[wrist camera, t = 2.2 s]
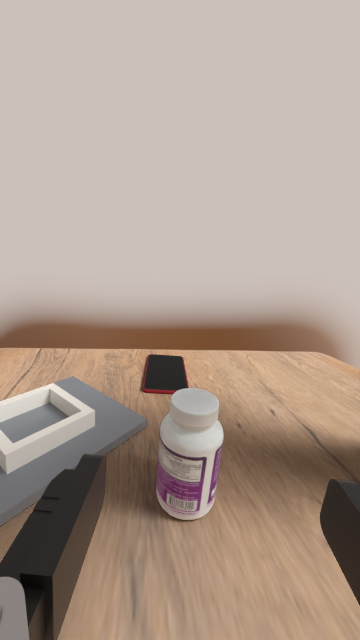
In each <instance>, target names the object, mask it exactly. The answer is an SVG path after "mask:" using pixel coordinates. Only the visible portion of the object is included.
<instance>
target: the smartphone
mask: <svg viewBox="0 0 360 640" xmlns="http://www.w3.org/2000/svg"><path fill="white" fill-rule="evenodd" d="M185 388H189V386H188V381H187V376H186V370H185V365H184V360H183V357H181V356H169V355H153V354H151V355H148V359H147V365H146V371H145V377H144V382H143V391H144V392H146V393H161V394H174V393H175V392H176V391H178V390H180V389H185Z"/></svg>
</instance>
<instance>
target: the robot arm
mask: <svg viewBox="0 0 360 640" xmlns="http://www.w3.org/2000/svg"><path fill="white" fill-rule="evenodd" d="M105 474H106V456H105V455H95V454H83V456H82V457H81V459H80V461H79V463H78V465H77V467H76V469H75V470H72V469H64V470H63V471H62V472H61V473H59V474H58V475H57V476H56V477H55V478H54V479H52V480H51V482H50V483H49V485H48V486H47V488H46V490H45V491H44V493H43V495H42V496H41V499H39V501H38V503H37V504H36V506H35V508H34V509H33V512H32V513H31V514H30V516H29V517H28V519H27V521H26V522H25V524H24V525H23V527H22V529H21V530H20V532H19V534H18V535H17V537H16V539H15V540H14V542H13V543H12V545H11V547H10V548H9V550H8V552H7V553H6V555H5V556H4V558H3V560H2V561H1V563H0V640H57V638H58V635H59V633H60V630H61V627H62V624H63V621H64V618H65V615H66V612H67V609H68V606H69V603H70V600H71V597H72V594H73V591H74V588H75V585H76V583H77V580H78V577H79V574H80V571H81V568H82V565H83V562H84V559H85V556H86V553H87V550H88V547H89V544H90V541H91V538H92V535H93V532H94V530H95V527H96V524H97V521H98V518H99V515H100V512H101V508H102V504H103V500H104V493H105ZM320 523H321V528H322V531H323V534H324V536H325V538H326V540H327V542H328V544H329V546H330V548H331V550H332V552H333V554H334V556H335V558H336V560H337V562H338V564H339V566H340V568H341V570H342V572H343V574H344V576H345V578H346V579H347V581H348V583H349V585H350V587H351V589H352V591H353V593H354V595H355V597H356V599H357V601H358V603H359V605H360V485H359V484H358V483H356V482H354V481H346V480H336V479H332V480H330V481H329V483H328V487H327V490H326V494H325V498H324V501H323V505H322V508H321V512H320Z"/></svg>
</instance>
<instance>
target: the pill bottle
mask: <svg viewBox="0 0 360 640" xmlns="http://www.w3.org/2000/svg"><path fill="white" fill-rule="evenodd" d="M169 412H170V413H169V414H167V415H166V417H165V418H164V419H163V421H162V424H161V428H160V439H159V453H158V465H157V482H156V494H157V499H158V501H159V503H160V505H161V507H162V508H163V509H164V510H165V511H166V512H167V513H168V514H169V515H171V516H173V517H175V518H178V519H181V520H194V519H199V518H201V517H203V516H204V515H206V514H207V513H208V512H209V511H210V509H211V508H212V506H213V503H214V500H215V494H216V487H217V481H218V474H219V467H220V460H221V453H222V445H223V439H224V435H223V429H222V426H221V424H220V422H219V421H218V413H219V401H218V399H217V398H216V397H215V396H214V395H213V394H212V393H210V392H208V391H205V390H202V389H197V388H185V389H180V390H178V391H176V392H175V393H174V394H173V395H172V397H171V402H170V408H169Z"/></svg>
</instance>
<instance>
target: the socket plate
mask: <svg viewBox="0 0 360 640" xmlns="http://www.w3.org/2000/svg"><path fill="white" fill-rule="evenodd" d="M145 427H147V419H145V418H144V417H142V416H140V415H139V414H137V413H135V412H133V411H132V410H130V409H128V408H127V407H125V406H123V405H121V404H120V403H118V402H116V401H115V400H113V399H111V398H109V397H108V396H106V395H104V394H103V393H101V392H99V391H97V390H96V389H94V388H92V387H91V386H89V385H87V384H85V383H84V382H82V381H80V380H79V379H77V378H75V377H73V376H72V377H70V378H67V379H64V380H61V381H58V382H55V383H52V384H49V385H46V386H43V387H40V388H37V389H35V390H32V391H29V392H26V393H23V394H20V395H17V396H14V397H11V398H8V399H5V400H2V401H0V526H1V525H3V524H4V523H6V522H7V521H9V520H10V519H11V518H13V517H14V516H16V515H17V514H19V513H20V512H22V511H23V510H25V509H26V508H28V507H29V506H31V505H32V504H33V503H35V502H36V501H38V500H39V499H41V496H42V495H43V493H44V491H45V490H46V488H47V486H48V485H49V483H50V482H51V480H52V479H54V478H55V477H56V476H57V475H58V474H59V473H61V472H62V471H63V470H64V469H72V470H75V469H76V467H77V465H78V463H79V461H80V459H81V457H82V456H83V454H95V455H105V454H107V453H108V452H110V451H111V450H113V449H114V448H116V447H117V446H119V445H120V444H122V443H123V442H125V441H126V440H127V439H129V438H130V437H132V436H133V435H135V434H136V433H138V432H139V431H141V430H142V429H144V428H145Z"/></svg>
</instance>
